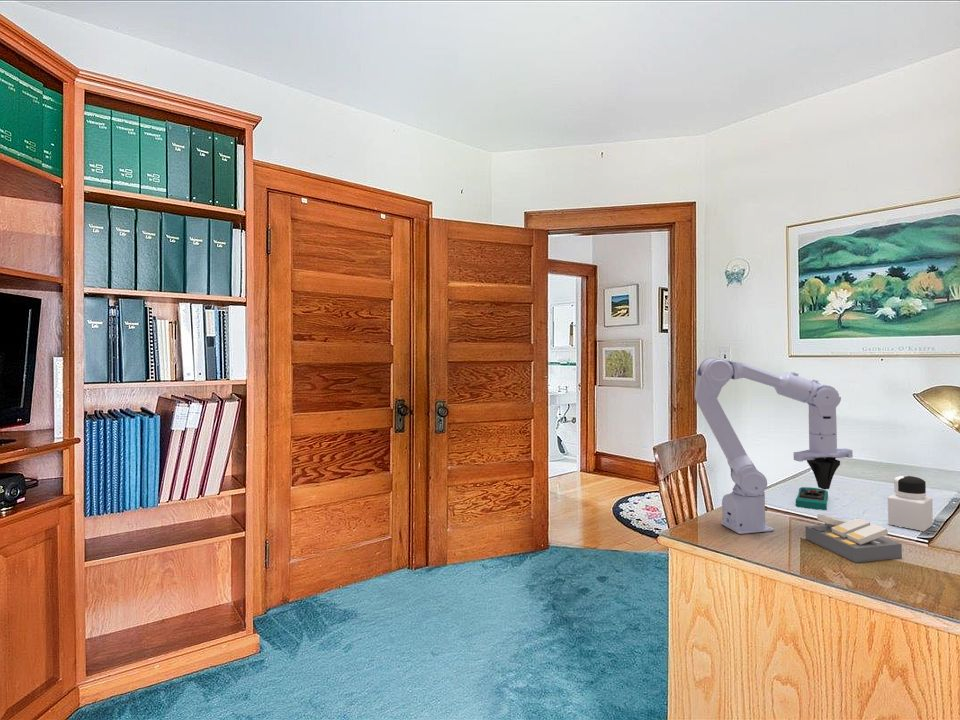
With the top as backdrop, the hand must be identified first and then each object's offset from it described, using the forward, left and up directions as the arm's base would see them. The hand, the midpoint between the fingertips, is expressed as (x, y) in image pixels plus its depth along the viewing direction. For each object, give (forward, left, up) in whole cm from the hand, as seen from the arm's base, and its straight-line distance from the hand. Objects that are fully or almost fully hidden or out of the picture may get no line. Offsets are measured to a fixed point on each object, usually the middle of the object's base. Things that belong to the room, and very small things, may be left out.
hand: (823, 488), depth 129 cm
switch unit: (-3, -11, -10) cm, 15 cm away
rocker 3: (-3, -15, -6) cm, 17 cm away
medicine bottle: (+22, -2, -11) cm, 25 cm away
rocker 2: (-3, -11, -6) cm, 13 cm away
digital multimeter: (+14, +21, -11) cm, 27 cm away
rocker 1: (-3, -7, -6) cm, 9 cm away
